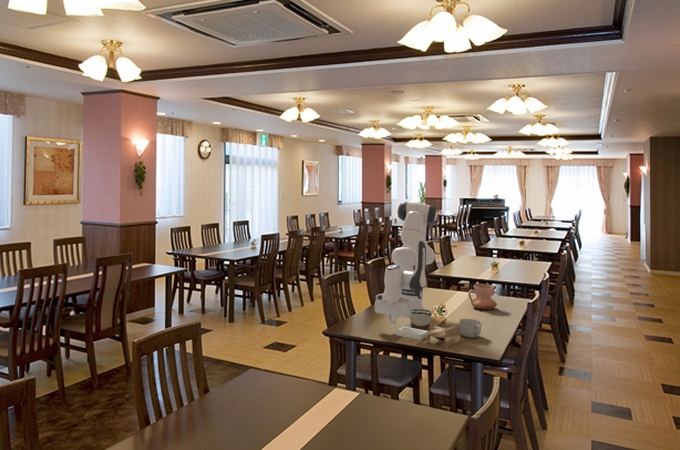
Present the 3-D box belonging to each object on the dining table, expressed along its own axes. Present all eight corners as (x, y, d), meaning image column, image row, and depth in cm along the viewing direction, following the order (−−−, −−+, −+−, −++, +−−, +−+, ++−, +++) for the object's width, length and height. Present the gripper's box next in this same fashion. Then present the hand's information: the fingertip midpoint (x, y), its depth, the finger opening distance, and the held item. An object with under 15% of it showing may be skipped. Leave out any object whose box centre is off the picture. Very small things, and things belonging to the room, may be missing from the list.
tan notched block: (421, 342, 246) (421, 325, 246) (434, 335, 257) (435, 319, 257) (447, 347, 238) (447, 330, 237) (460, 340, 249) (460, 324, 248)
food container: (433, 328, 271) (434, 309, 270) (431, 331, 265) (432, 312, 264) (410, 326, 275) (410, 307, 274) (408, 329, 269) (408, 310, 268)
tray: (396, 335, 258) (396, 329, 258) (404, 332, 265) (404, 326, 264) (420, 340, 250) (420, 334, 250) (428, 337, 256) (428, 331, 256)
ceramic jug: (500, 307, 317) (500, 285, 317) (494, 312, 305) (495, 288, 304) (471, 305, 326) (471, 282, 326) (465, 309, 314) (465, 286, 313)
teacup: (456, 333, 261) (456, 317, 261) (477, 332, 262) (477, 317, 262) (465, 341, 248) (465, 325, 247) (487, 341, 249) (487, 324, 248)
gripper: (413, 298, 259) (413, 325, 260) (379, 293, 271) (379, 319, 272) (407, 300, 254) (407, 328, 255) (373, 295, 266) (372, 321, 267)
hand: (392, 323), depth 263 cm, fingers closed
